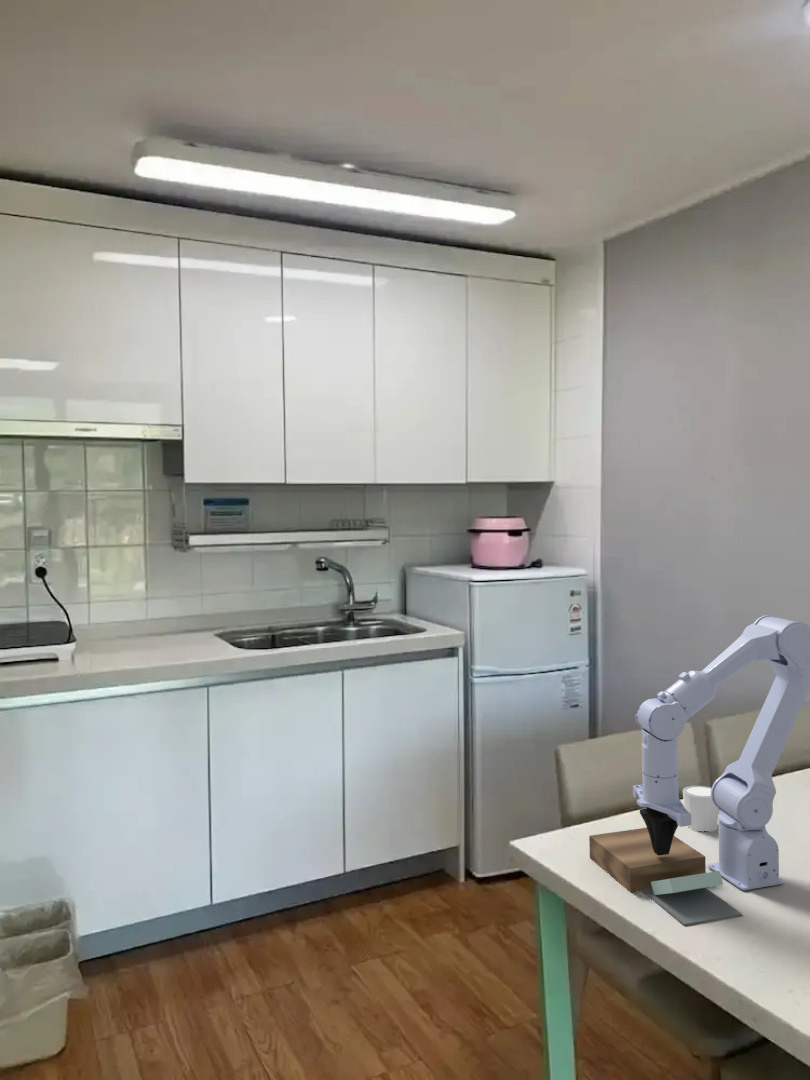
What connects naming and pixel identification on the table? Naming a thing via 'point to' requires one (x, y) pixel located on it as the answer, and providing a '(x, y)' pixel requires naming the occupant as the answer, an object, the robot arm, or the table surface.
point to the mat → (694, 906)
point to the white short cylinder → (700, 808)
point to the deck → (642, 858)
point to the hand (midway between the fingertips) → (661, 853)
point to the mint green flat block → (687, 883)
